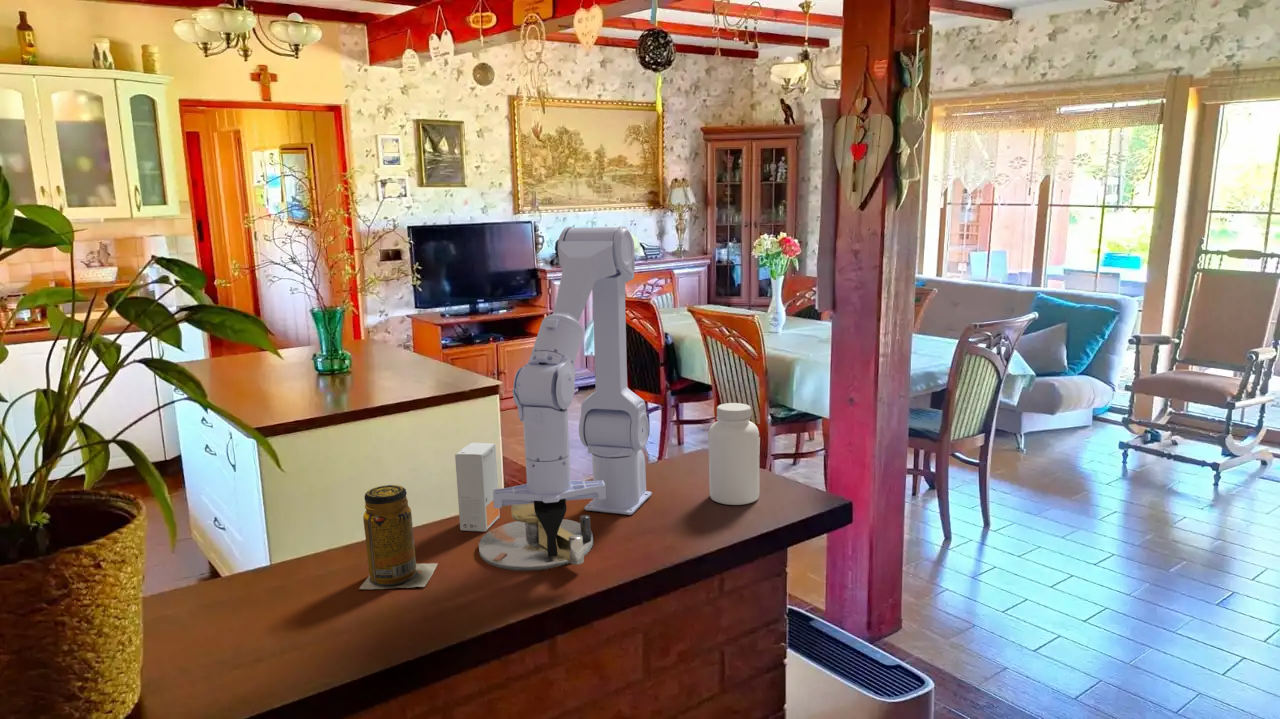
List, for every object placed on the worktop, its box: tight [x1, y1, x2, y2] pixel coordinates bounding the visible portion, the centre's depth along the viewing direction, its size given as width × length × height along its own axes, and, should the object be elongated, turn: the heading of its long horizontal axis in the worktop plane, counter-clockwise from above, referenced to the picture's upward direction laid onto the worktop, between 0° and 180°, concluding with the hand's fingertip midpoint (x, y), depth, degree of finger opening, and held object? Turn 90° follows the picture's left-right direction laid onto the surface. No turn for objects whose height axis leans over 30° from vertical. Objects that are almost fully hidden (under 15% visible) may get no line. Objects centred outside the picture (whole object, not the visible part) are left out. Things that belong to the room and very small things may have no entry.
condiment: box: [358, 484, 439, 590], centre depth 114 cm, size 7×8×12 cm
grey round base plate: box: [478, 514, 594, 572], centre depth 123 cm, size 16×16×4 cm
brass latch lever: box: [510, 503, 585, 566], centre depth 119 cm, size 15×6×5 cm, turn 37°
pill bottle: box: [708, 402, 760, 506], centre depth 138 cm, size 8×8×15 cm
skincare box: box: [454, 442, 501, 533], centre depth 131 cm, size 6×4×12 cm
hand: (552, 553), depth 116 cm, fingers closed, pressing on brass latch lever
